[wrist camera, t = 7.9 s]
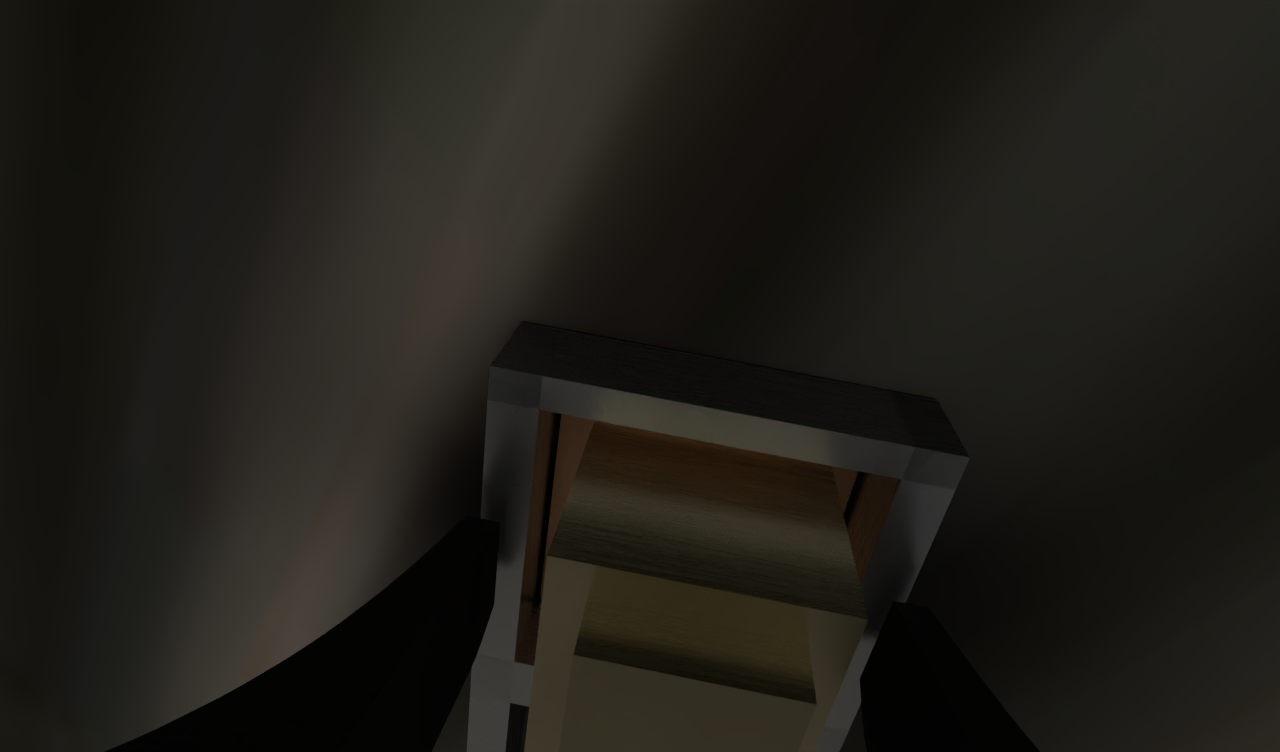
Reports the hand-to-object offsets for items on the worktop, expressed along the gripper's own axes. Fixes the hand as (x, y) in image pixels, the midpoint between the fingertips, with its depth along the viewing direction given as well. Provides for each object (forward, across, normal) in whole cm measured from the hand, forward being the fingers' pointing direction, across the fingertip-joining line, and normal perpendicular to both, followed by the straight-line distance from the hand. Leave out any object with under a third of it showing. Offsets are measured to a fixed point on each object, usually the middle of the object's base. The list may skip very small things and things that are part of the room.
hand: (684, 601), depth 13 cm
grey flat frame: (+2, 0, +4) cm, 4 cm away
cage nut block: (+2, 0, 0) cm, 2 cm away
